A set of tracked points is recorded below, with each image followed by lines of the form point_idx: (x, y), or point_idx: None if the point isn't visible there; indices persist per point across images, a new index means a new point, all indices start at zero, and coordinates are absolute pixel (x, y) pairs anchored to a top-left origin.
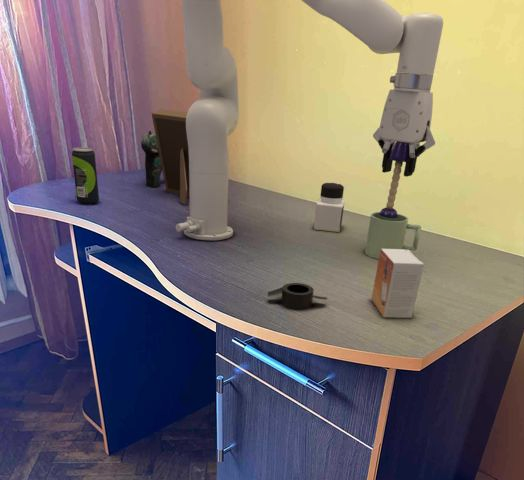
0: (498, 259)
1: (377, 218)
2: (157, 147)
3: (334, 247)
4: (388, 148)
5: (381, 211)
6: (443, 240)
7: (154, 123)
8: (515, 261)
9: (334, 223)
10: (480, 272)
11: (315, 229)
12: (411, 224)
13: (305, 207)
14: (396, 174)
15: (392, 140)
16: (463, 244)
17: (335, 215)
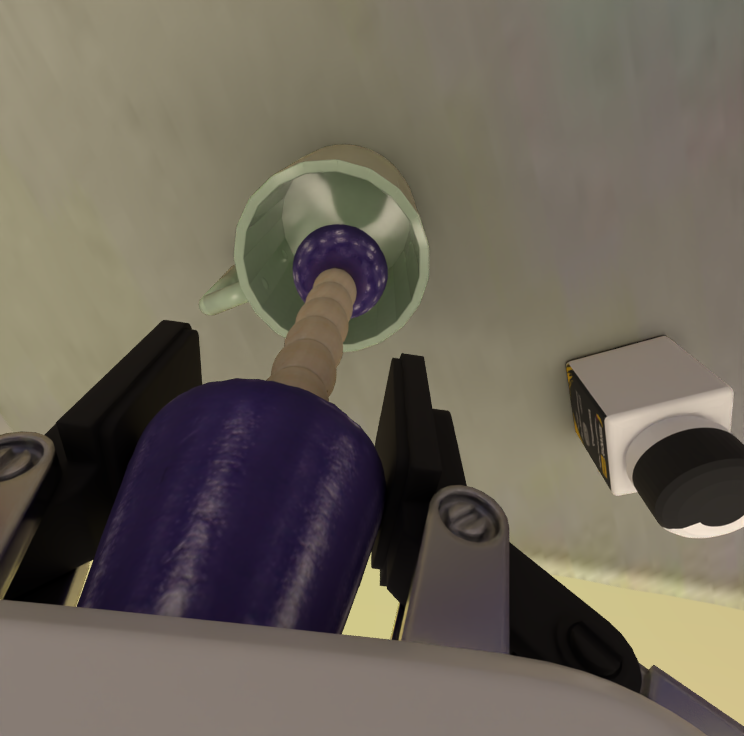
0: None
1: (367, 176)
2: None
3: (540, 168)
4: (418, 555)
5: (371, 250)
6: None
7: None
8: (22, 430)
9: (601, 370)
10: (13, 261)
11: (660, 337)
12: (236, 295)
13: (727, 534)
14: (288, 366)
15: (316, 635)
16: None
17: (615, 388)
